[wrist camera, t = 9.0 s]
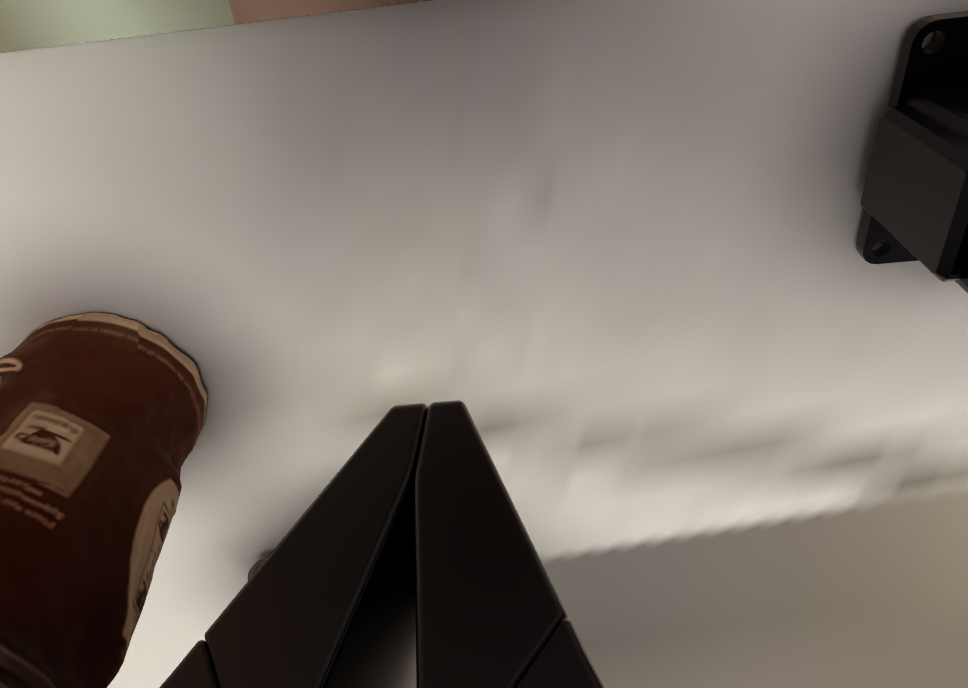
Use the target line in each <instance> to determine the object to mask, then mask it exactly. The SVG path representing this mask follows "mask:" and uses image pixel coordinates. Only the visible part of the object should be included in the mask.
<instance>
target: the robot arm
mask: <svg viewBox="0 0 968 688" xmlns="http://www.w3.org/2000/svg"><path fill="white" fill-rule="evenodd" d="M934 31H936V38H935V40H934V42H933V44H932V45H931V46H929V47H928V48H926V49H923V50H922V43H923V41H924V39H925V37H926V36H927V35H928V34H930V33H931V32H934ZM861 205H862V206H863V207H864V208H865V211H864V215H863V219H862V224H861V228H860V233H859V237H858V241H857V250H858V252H859V254H860V255H861V256H862V257H863V258H864V259H865V260H866V261H867V262H869V263H871V264H883V263H894V262H905V261H917V260H919V261H920V262H921V263H922V264H923V265H924V266H926V267H927V268H928V269H929V270H930V271H931V272H932V273H933V274H934V275H935V276H936V277H937V278H938V279H939V280H941V281H955V282H956V283H957V284H958V285H959V286H961V287H962V288H963V289H964V290H965V291H966V292H967V293H968V12H963V13H954V14H945V15H936V16H929V17H926V18H923V19H921V20H919V21H918V22H916V23H915V24H913V26H912V27H911V28H910V29H909V31H908V32H907V33H906V36H905V38H904V41H903V45H902V49H901V54H900V58H899V62H898V67H897V71H896V75H895V80H894V84H893V89H892V93H891V97H890V102H889V106H888V109H887V110H886V111H885V112H884V113H883V114H882V115H881V117H880V119H879V123H878V127H877V132H876V136H875V141H874V145H873V150H872V154H871V159H870V163H869V168H868V172H867V176H866V181H865V185H864V190H863V194H862V199H861ZM883 240H884V242H883V244H882V246H880V247H879V248H878V249H875V250H872V248H873V246H874V245H875V244H876V243H878V242H880V241H883ZM205 640H206V642H205V641H204V640H200V641H198V642H197V643H196V645H195V646H194V647H193V648H192V649H191V651H190V652H189V653H188V654H187V656H186V657H185V658H184V659H183V660H182V662H181V663H180V664H179V665H178V666H177V668H176V669H175V670H174V671H173V672H172V674H171V675H170V676H169V677H168V678H167V679H166V681H165V682H164V683H163V684H162V685H161V686H160V688H604V686H603V684H602V682H601V681H600V678H599V677H598V675H597V673H596V671H595V669H594V667H593V665H592V663H591V662H590V660H589V658H588V656H587V654H586V652H585V650H584V648H583V646H582V644H581V642H580V640H579V637H578V635H577V634H576V632H575V629H574V627H573V625H572V623H571V622H570V621H569V620H567V614H566V612H565V610H564V608H563V605H562V603H561V601H560V599H559V597H558V595H557V593H556V591H555V589H554V587H553V585H552V583H551V581H550V579H549V577H548V575H547V573H546V570H545V568H544V566H543V564H542V562H541V560H540V558H539V556H538V554H537V552H536V550H535V548H534V546H533V544H532V542H531V539H530V537H529V535H528V533H527V531H526V529H525V527H524V525H523V523H522V521H521V519H520V517H519V515H518V513H517V511H516V509H515V506H514V504H513V502H512V500H511V498H510V496H509V494H508V492H507V490H506V488H505V486H504V484H503V482H502V480H501V478H500V476H499V474H498V471H497V469H496V467H495V465H494V463H493V461H492V459H491V457H490V455H489V453H488V451H487V449H486V447H485V445H484V443H483V441H482V438H481V436H480V434H479V432H478V430H477V428H476V426H475V424H474V422H473V420H472V418H471V416H470V414H469V412H468V410H467V408H466V406H465V404H464V403H463V402H462V401H446V402H434V403H432V404H431V405H429V407H428V406H427V405H425V404H422V403H421V404H409V405H398V406H394V407H393V408H391V409H390V410H389V411H388V413H387V414H386V415H385V416H384V417H383V419H382V420H381V421H380V422H379V423H378V425H377V426H376V427H375V428H374V429H373V431H372V432H371V433H370V434H369V436H368V437H367V438H366V439H365V440H364V442H363V443H362V444H361V445H360V446H359V448H358V449H357V450H356V451H355V452H354V454H353V455H352V456H351V457H350V459H349V460H348V461H347V462H346V463H345V465H344V466H343V467H342V468H341V469H340V471H339V472H338V473H337V474H336V475H335V477H334V478H333V479H332V480H331V482H330V483H329V484H328V485H327V486H326V488H325V489H324V490H323V491H322V492H321V494H320V495H319V496H318V497H317V499H316V500H315V501H314V502H313V503H312V505H311V506H310V507H309V508H308V509H307V511H306V512H305V513H304V514H303V515H302V517H301V518H300V519H299V520H298V522H297V523H296V524H295V525H294V526H293V528H292V529H291V530H290V531H289V532H288V534H287V535H286V536H285V537H284V538H283V540H282V541H281V542H280V543H279V545H278V546H277V547H276V548H275V549H274V551H273V552H272V553H271V554H270V555H269V557H268V558H267V559H266V560H265V562H264V563H263V564H262V565H261V566H260V568H259V569H258V570H257V571H256V572H255V574H254V575H253V576H252V577H251V578H250V580H249V581H248V582H247V583H246V585H245V586H244V587H243V588H242V589H241V591H240V592H239V593H238V594H237V595H236V597H235V598H234V599H233V600H232V601H231V603H230V604H229V605H228V606H227V608H226V609H225V610H224V611H223V612H222V614H221V615H220V616H219V617H218V618H217V620H216V621H215V622H214V623H213V625H212V626H211V627H210V628H209V629H208V631H207V632H206V633H205Z"/></svg>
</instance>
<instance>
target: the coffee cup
mask: <svg viewBox="0 0 968 688" xmlns="http://www.w3.org/2000/svg"><path fill="white" fill-rule="evenodd" d="M206 405H207V393H206V392H205V390H204V388H203V386H202V383H201V380H200V376H199V374H198V369H197V367H196V366H195V364H194V362H193V361H192V360H190V359H189V358H188V357H187V356H186V355H184V354H183V353H182V352H180V351H179V350H177V349H176V348H174V347H173V346H172V345H171V344H170V343H169V342H168V340H167V339H166V338H165V337H163V336H162V335H161V334H160V333H155V332H153V331H151V330H147V328H146V327H145V326H144V325H142V324H140V323H139V322H137V321H134V320H129V319H126V318H123V317H120V316H117V315H113V314H108V313H85V314H80V315H74V316H67V317H64V318H60V319H57V320H54V321H51V322H48V323H45V324H43V325H42V326H40V327H38V328H36V329H35V330H34V331H32V332H31V333H30V334H29V335H28V336H27V337H26V338H25V340H24V341H23V342H22V343H21V344H20V345H19V346H18V347H17V348H16V349H15V350H14V351H13V352H12V353H10V354H7V355H5V356H3V357H1V358H0V688H107V686H108V685H109V684H110V683H111V681H112V680H113V679H114V678H115V676H116V675H117V673H118V672H119V670H120V668H121V666H122V664H123V661H124V658H125V655H126V652H127V649H128V647H129V644H130V640H131V637H132V635H133V632H134V630H135V627H136V625H137V622H138V620H139V617H140V614H141V612H142V609H143V606H144V603H145V600H146V596H147V593H148V590H149V587H150V584H151V581H152V577H153V572H154V567H155V564H156V562H157V560H158V557H159V555H160V552H161V549H162V546H163V544H164V541H165V538H166V535H167V532H168V529H169V526H170V523H171V520H172V517H173V516H174V514H175V513H176V507H177V503H178V500H179V496H180V492H181V487H182V486H181V482H180V471H181V466H182V464H183V463H184V461H185V459H186V458H187V456H188V455H189V453H190V452H191V451H192V450H193V447H194V445H195V443H196V441H197V438H198V436H199V434H200V432H201V429H202V427H203V425H204V423H205V415H206Z"/></svg>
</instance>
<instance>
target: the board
mask: <svg viewBox="0 0 968 688" xmlns="http://www.w3.org/2000/svg"><path fill="white" fill-rule="evenodd" d="M422 1H430V0H0V53H4V52H13V51H21V50H29V49H37V48H45V47H54V46H62V45H70V44H78V43H86V42H94V41H103V40H111V39H119V38H127V37H135V36H144V35H152V34H160V33H168V32H176V31H184V30H193V29H201V28H209V27H217V26H225V25H234V24H242V23H250V22H258V21H266V20H274V19H283V18H291V17H299V16H307V15H315V14H324V13H332V12H340V11H348V10H356V9H364V8H373V7H381V6H389V5H397V4H405V3H414V2H422Z"/></svg>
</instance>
